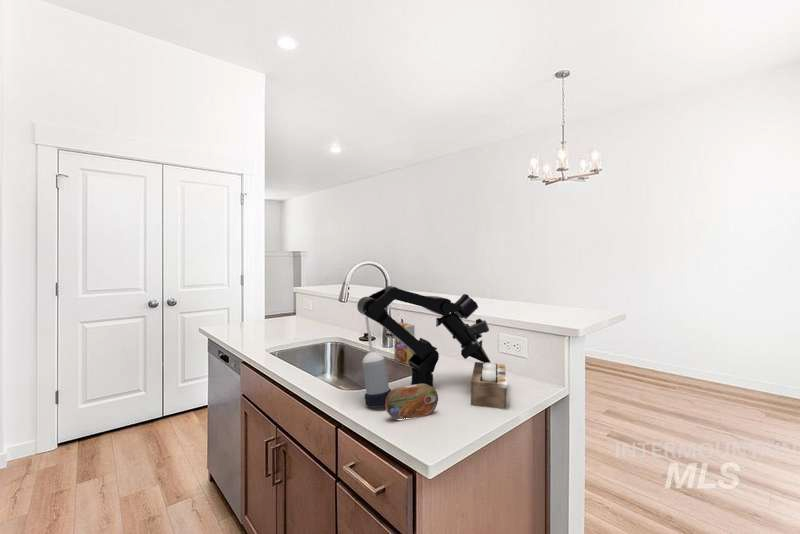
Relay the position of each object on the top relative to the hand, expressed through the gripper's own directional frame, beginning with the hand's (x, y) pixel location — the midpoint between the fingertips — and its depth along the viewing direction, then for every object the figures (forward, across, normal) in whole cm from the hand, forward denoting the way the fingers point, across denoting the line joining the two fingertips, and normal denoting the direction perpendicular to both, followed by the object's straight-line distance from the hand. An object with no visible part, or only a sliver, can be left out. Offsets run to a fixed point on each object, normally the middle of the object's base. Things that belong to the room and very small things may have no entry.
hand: (489, 363), depth 125 cm
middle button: (+2, -6, +2) cm, 7 cm away
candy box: (-18, +21, +30) cm, 41 cm away
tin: (-8, -28, +20) cm, 35 cm away
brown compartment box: (+6, -6, +6) cm, 10 cm away
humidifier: (-16, -23, +27) cm, 39 cm away
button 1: (+2, -13, +2) cm, 13 cm away
